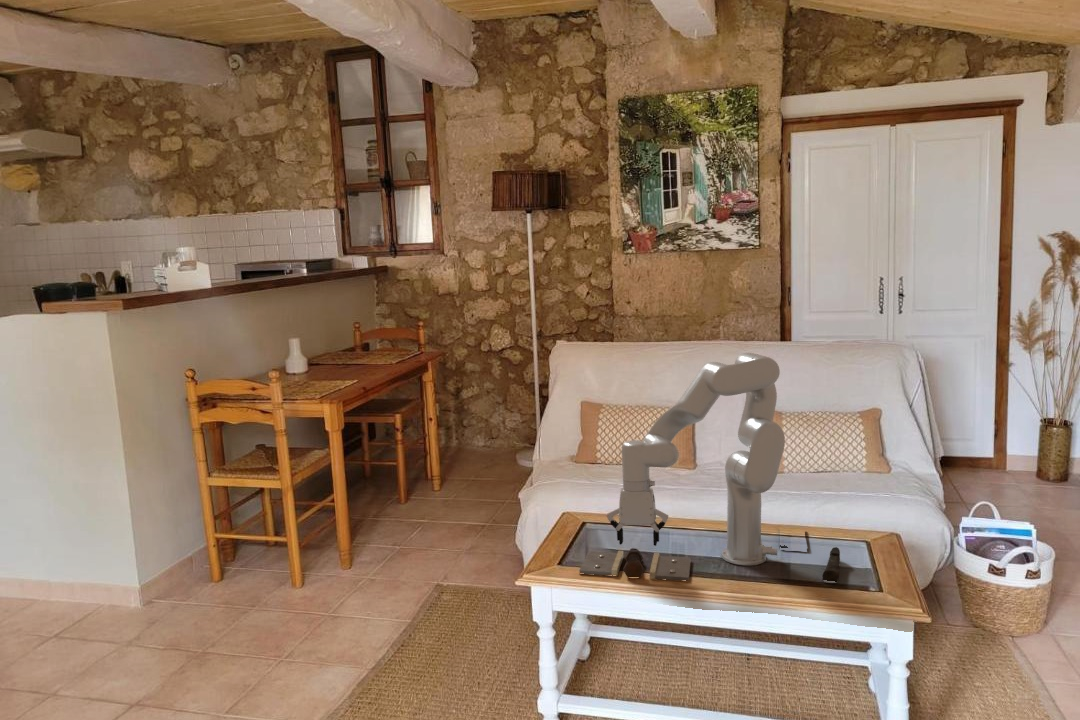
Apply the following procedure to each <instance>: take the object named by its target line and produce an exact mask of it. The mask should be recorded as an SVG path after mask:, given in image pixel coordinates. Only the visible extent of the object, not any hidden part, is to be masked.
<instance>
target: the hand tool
mask: <svg viewBox="0 0 1080 720" xmlns="http://www.w3.org/2000/svg"><path fill="white" fill-rule="evenodd" d="M840 562H841V551H840V549H839V547H838V546H835V547H832V549H831V550H830V552H829V557H828V560H827V563H826V566H825V569H824V571H823V573H822V581H823V580H827V581H835V582H837V581H838V582H839V578H840V575H839V573H840V571H839V570H840V565H839V564H840ZM838 582H837V583H838Z"/></svg>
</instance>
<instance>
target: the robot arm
mask: <svg viewBox="0 0 1080 720" xmlns="http://www.w3.org/2000/svg"><path fill="white" fill-rule="evenodd" d="M779 377H780V367H779V365H778V362H777V361H775V360H774V358H771V357H770V356H766V355H761V354H757V353H754V352H753V353H752V352H745V353H741V354H739V355H738V356H737V357H736V358H735V361H734V364H733V363H732V364H726V363H722V362H718V361H710V362H708V363H706V364H704V365H703V366H702V368H701V369H700V370H699V371H698V372H697V374H696V376H695V377H694V378H693V380H692V382H691V383H689V385H688V387H687V388H686V390H685V391H684V392H683V394H682V396H681V397H680V398H679V400H678V401H677V402H676V403H675V404H673V405H672V406H671V407H670V408H669V409H667V411H665V412H664V413H663V414H662V415H660V417H658V419H657V420H656V421H655V422H654V423H653V425H652V426H651V427H650V429H649V430H648V432H647V434H646V435H645V437H644V438H643V440H636V439H635V440H633V439H631V440H628V441H625V442H623V443H622V445H621V469H622V487H621V488H620V493H619V502H618V508H616V509H614V510H612V511H610V512H608V513H607V515H606V517H607V520H608V522H609V523H610V525H611V526H612V527H613V528H614V529H615V531H616V540H617V541H619V543H618V544H619V545H623V542H624V528H623V526H650V527H651V528H652V529H653V533H652V534H653V537H652V538H653V541H652V543H653V546H655V547H656V546H657V543H659V542H660V531H661V529H663V528H664V527H665V525H666V523H667V522H668V519H669V515H668V513H667V514H666V513H665V512H663V511H661V510H659V509H657V508H656V498H655V493H654V489H653V488H652V487H655V486H656V480H655V481H654V480H651V478H650V468H662V469H663V468H664V469H665V468H669V467H672V466H674V465H675V464H676V463H677V462H678V460H679V457H680V453H679V450H678V447H677V446H676V445H675V444H674V443H672V441H673V440H674V438H675V437H676V436H677V434H679V433H680V432H681V431H682V430H684V428H686V427H688V426H691V425H694V424H697V423H700V422H702V420H704V418H705V417H706V416H707V415H708V413H710V410H711V408H712V407H713V406H714V405H715V403H716V402H717V400H718V399H719V398H720V396H723V397H729V396H730V397H731V396H736V395H742V394H745V401H744V406H743V410H742V413H741V419H740V422H739V426H738V430H737V438H738V440H739V441H740V443H741V444H742V445H744V446H746V447H747V448H749V451H746V450H737V451H734V452H733V453H731V454H730V455H729V456H728V458H727V460H725V461H726V462H725V466H724V474H725V481H726V491H727V492H726V493H727V504H726V505H727V507H726V509H727V510H726V514H727V516H726V518H727V519H726V520H727V521H726V522H727V523H726V525H727V527H726V528H727V529H726V540H727V541H726V548H724V549H723V550H722V551H721V558H722V559H723V560H724V561H726V562H727V563H731V564H733V565H738V566H757V565H760V564H763V563H765V562H766V560H767V555H770V556H778V548H773V546H772V545H764V544H763V542H762V539H761V538H762V494H763V493H765V492H767V491H769V490H770V489H772V487H773V486H774V484H775V483H776V479H777V476H778V474H779V473H778V472H779V469H780V467H781V462H782V457H783V453H784V449H785V446H786V445H785V443H786V439H785V438H786V437H785V436H786V435H785V433H784V430H783V428H782V427H781V425H779V424H778V423H777V422H775V421H774V417H775V411H776V405H777V397H778V396H777V394H778V393H777V387H776V384H775V383H776V382H777V381H778V379H779ZM617 515H618V519H619V522H618V521H617V520H615V518H614V517H615V516H617ZM657 517H659V518H661V521H660V522H659V523H658V522H657V521H656V518H657Z"/></svg>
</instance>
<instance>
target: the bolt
mask: <svg viewBox="0 0 1080 720" xmlns="http://www.w3.org/2000/svg"><path fill="white" fill-rule="evenodd" d="M643 559H644V557H643V554H642V553H641V551H640V550H639V549H637V548H630V549H629V550H628V552H627V554H626V555H625V560H626V562H625V564H624V566H623V568H622V569H623V570H622V571H623V573H624V574H625V576H626V577H627V578H628V577H640V578H641V577H642V575H643V574H644V571H645V567H644V566H643V564H642V561H643Z"/></svg>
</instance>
